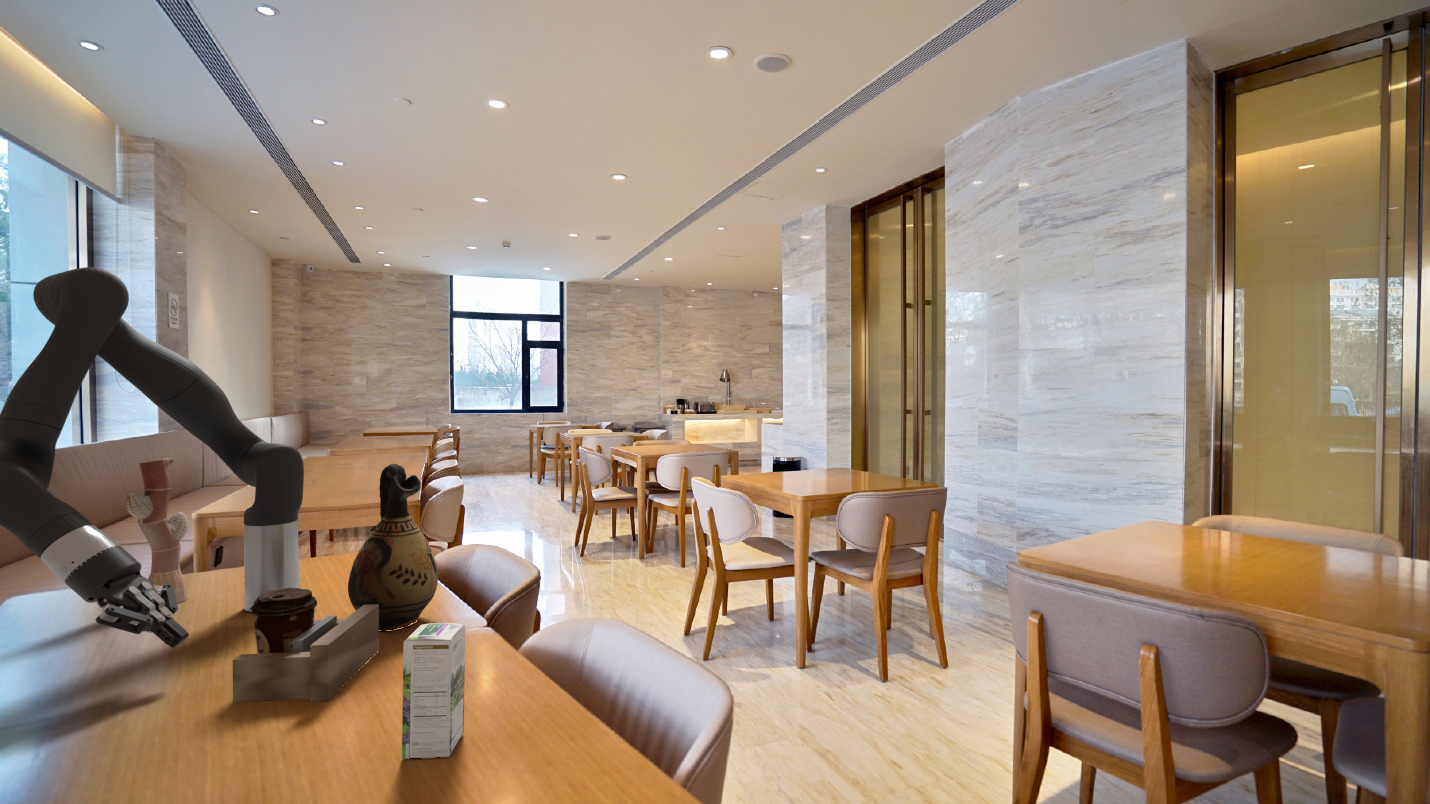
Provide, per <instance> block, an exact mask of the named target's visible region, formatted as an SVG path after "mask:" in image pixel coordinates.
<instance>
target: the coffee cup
mask: <svg viewBox="0 0 1430 804" xmlns="http://www.w3.org/2000/svg"><path fill="white" fill-rule="evenodd" d="M317 605H318V601H317V599H316V597H315V596H313V591H312V590H310V589H308V588H304V589H303V588H300V587H299V588H283V589H277V590H271V591H267V592H265V593H263V594H260V596H259V597H258V598H257V599H256V600H255V602H254V605H253V606H252V607H251V608H250V609H251V610H252V612H251V613H253V614H254V615H255V616H256V619H255V621H254V623H253V624H254V625H253V628H254V634H255V642H256V643H255V644H256V654H261V653H289V652H292V641H293V640H294V639H295V638H297V637H298V636H300V635H301V634H303V633H304V632H305V631H307V630H308V629H310V628H311V627H312V626H313V624H314V620H315V613H316V611H315V608H316V607H317Z"/></svg>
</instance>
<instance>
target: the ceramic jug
mask: <svg viewBox="0 0 1430 804" xmlns="http://www.w3.org/2000/svg"><path fill="white" fill-rule="evenodd" d="M380 473H381V474H380V476H379V477H380V478H379V487H378V489H379V498H380V499H379V502H380V503H379V505H380V506H379V507H380V508H379V514H380V521H379V522H378V523H377V525H375V528H374V529H373V530H372V532H370V533H369V535H368V536H367V539H366V540H365V541H364V543H362V546H361V547H360V549H359V550H358V553H357V554H356V556H355V558H354V560H353V562H352V566H351V569H350V572H349V576H348V583H347V593H348V598H349V601H350V603H351V606H352V607H353V609H354V610H355V611H356V610H358V609H359V608H360V607H362V606H363V605H376V604H379V630H394V629H397V628H401V627H405V628H407V627H406V626H408V625H410V624H411V623H414V622H416V620H417V619H418V620H419V617H420V616H421V614H422V612H423V611H424V610H425V609H426V607H427V606H428V605H429V604H430V603H431V601H432V600H433V598H434V596H435V593H436V591H437V587H438V582H439V571H438V564H437V561H436V558H435V554H434V552H433V549H432V547H431V545H430V543H429V541H428V540H427V538H426V537H425V535H424V533H423V531H422V530H421V528H420V527H419V526H418V525H417V523H416V522H415V521H414V519H413V518H412V515H411V514H410V513H409V511H408V509H409V508H408V503H407V502H408V498H409V497H412V496H415V494H417V493H418V492H420V490H421V481H420V479H419V477H418V476H417V475H416V474H412V475H410V476H409V477H407V473H406V470H405V468H404V466H403V465H399V464H398V463H390V464H389V465H387V466H386V467H385V466H384V468H383V469H382V471H381V472H380ZM408 627H409V626H408Z"/></svg>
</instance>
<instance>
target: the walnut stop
mask: <svg viewBox="0 0 1430 804" xmlns="http://www.w3.org/2000/svg"><path fill="white" fill-rule="evenodd" d="M321 620H322V619H314V624H313V626H314V625H315V624H317V623H318V622H320V621H321ZM378 650H379V651H380V631H379V604H376V605H363V606H362V607H360V608H359V609H358V610H355V611H354V612H353V613H351V614H349V615H348V616H347V617H345V618H343V619H340V618H337V626H335V627H334V628H333V629H331V630H330V631H329V632H327V633H326V634H325V635H323V636H322V637H321V638H319V639H318V640H317V641H315V642H314V643H313V644H312V645H310V652H289V653H261V654H258V653H241V654H240V655H238V656H236V657H234V658H233V659H232V703H239V702H240V703H241V702H262V701H263V702H264V701H267V702H269V701H289V700H292V701H293V700H308V699H309V700H310V701H309V702H310V703H314V702H315V703H317V702H329V701H330V700H331V699H332V698H333V697H334V696H335V695H337V694H338V692H339V691H340V690H341V689H342V688H344V686H345V685H346V684H347V683H348V682H349V681H350V680H351V679H352V678H353V677H354V676H355V675H356V674H357V673H358V670H359V669H361V667H362V666H363V665H365V663H366V662H367V661H368V660H370V658H372V657H373V656H374V654H376V653H377V651H378ZM377 654H378V653H377ZM377 654H376V655H377ZM374 657H375V656H374ZM374 657H373V658H374ZM373 658H372V659H373ZM370 661H371V660H370ZM365 666H366V665H365ZM361 670H362V669H361ZM355 673H356V674H355ZM354 674H355V675H354ZM351 677H352V678H351ZM350 678H351V679H350ZM347 681H348V682H347ZM346 682H347V683H346ZM343 685H344V686H343ZM340 688H341V689H340ZM339 689H340V690H339Z"/></svg>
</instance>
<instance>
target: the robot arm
mask: <svg viewBox="0 0 1430 804" xmlns="http://www.w3.org/2000/svg"><path fill="white" fill-rule="evenodd" d="M32 294H33V301H34V304H35V306H36V309H37V310H38V311H39V312H40V314H41V315H42V316H43V317H44V318H45V319H46V320H47V321H48V322H50V323H51V324H52V325H54V327H53V329H52V332H51V334H50V336H49V338H48V339H47V340H46V343H45V344H44V346H43V348H42V349H41V350H40V352H39V353H38V354H37V356H36V357H35V358H34V359H33V360H32V362H31V363H30V364H29V366H28V367H27V368H26V369H25V370H24V371H23V373H22V374H21V376H19V378H18V380H17V381H16V383H14V385H13V387H12V389H11V390H10V391H9V394H8V396H7V399H6V401H5V402H4V404H3V407H2V410H1V411H0V526H1V527H2V528H4V529H6V530H7V531H9V532H10V533H11V534H13V535H14V536H15V537H16V538H17V539H18V540H19V541H20V542H21V543H22V545H24V546H25V547H26V548H27V549H28V550H29V551H30V552H31V553H33V554H34V555H36V556H37V557H38V558H39V559H40V560H41V561H42V562H43V563H44V565H45V566H47V568H48V569H49V571H51V572H52V573H53V575H55V576H56V577H58V578H59V580H60V581H62V582H63V583H64V584H65V585H67V586H68V587H69V588H70V589H71V590H72V591H74V592H75V594H76V595H78V596H79V597H80V598H81V599H82V600H84V601H85V602H86V603H91V604H93V603H97V605H98V607H99V608H101V613H100V614H99V615H98V616H97V617H96V618H95V622H96V623H97V624H99V625H103V626H107V627H110V628H113V629H117V630H120V631H125V632H127V633H132V634H134V635H140V634H141V633H142V632H146V633H149V634H151V633H153V634H154V635H155V636H156V637H157V638H158V639H160V640H161V641H162V642H163V643H164V644H165V645H168V646H169V647H170V648H173V649H174V648H175V647H178V646H179V645H181V644H183V643H184V641H185V640H187V639H188V638H189V636H190V635H189V634H190V633H189V632H188V631H187V630H186V629H185V628H184V627H183V626H182V625H181V624H179V623H178V622H177V621H176V620H175V619H174V618H173V617H174V615H175V614H176V613H177V611H179V606H178V605H179V604H178V603H177V601H176V597H175V592H174V588H173V585H172V584H170V583H166V584H165V585H164V586H157V585H153V582H152V581H151V580H149V579H148V578H147V577H145V576H143V575H142V574H141V570H142V564H141V562H140V561H139V560H137V559H136V558H135V557H134V556H133V555H131V553H129V552H128V550H126V549H125V548H124V547H122V545H120V544H119V543H118V542H117V541H116V540H115V539H114V538H112V537H111V535H109V534H107V533H106V532H104V531H103V530H101V529H100V528H98V527H97V526H95V525H94V524H93V523H92V522H91V521H89V520H88V519H87V518H86V517H85V516H84V515H83V514H81V512H79V510H77V509H76V508H75V507H73V506H72V505H70V504H68V503H66V502H65V501H62V500H61V499H59V498H57V497H56V496H54V495H53V493H51V492H50V491H49V486H50V484H51V479H52V475H53V469H54V463H55V458H56V447H57V442H58V439H59V438H60V436H61V433H62V432H63V431H62V430H63V428H64V426H65V423H66V422H67V421H66V420H67V419H68V416H69V413H70V412H71V409H72V407H73V405H74V402H75V399H76V397H77V394H78V393H79V390H80V388H81V386H82V384H83V383H84V380H85V377H86V375H87V373H88V372H89V370H90V368H91V366H92V364H93V363H94V361H95V359H96V357H97V356H99V358H100V359H102V360H103V361H104V362H106V363H107V364H108V365H109V366H111V368H113V369H114V370H115V371H116V372H117V373H119V374H120V375H121V376H122V377H123V378H124V379H125V380H127V381H128V382H129V383H130V384H131V385H133V387H135V388H136V389H138V390H139V391H140V392H141V393H142V394H143V395H144V396H146V397H147V398H148V399H149V401H151V402H152V403H153V404H154V405H156V406H157V408H159V409H160V410H161V411H163V412H164V413H165V414H166V415H167V416H169V417H170V418H171V419H173V420H174V421H175V422H176V423H177V424H179V425H181V426H182V427H183V428H184V429H185V430H186V431H188V432H189V434H191V435H193V437H195V438H197V439H198V440H199V441H201V442H202V443H203V444H205V445H206V446H208V448H209V449H210V450H212V451H213V452H214V453H215V454H216V455H217V457H218V458H219V459H221V461H222V462H223V463H224V464H225V465H226V466H227V467H228V468H229V469H230V471H232V473H233V474H234V475H235V476H236V477H238V479H239V480H240V481H241V482H243V483H244V484H246V485H248V486H250V487H255V488H254V489H255V492H254V501H253V503H252V505H251V506H250V507H248V508H246V509H245V510H244V512H243V563H244V564H243V565H244V566H243V570H244V571H243V573H244V574H243V575H244V576H243V578H244V580H243V581H244V582H243V587H244V589H243V592H244V593H243V597H244V599H243V604H244V605H243V606H244V607H243V608H244V611H246V612H249V613H253V612H252V610H251V609H250V608H251V607H252V606H253V605H254V602H255V600H256V599H257V598H258V597H259V596H260V594H263V593H265V592H267V591H271V590H277V589H283V588H300V554H299V512H300V510H301V507H302V505H303V499H304V498H303V497H304V480H305V478H304V477H305V469H304V467H305V464H304V461H303V457H302V454H301V453H300V451H299V450H298V449H297V448H296V447H294V446H292V445H289V444H284V443H273V442H268V441H265V440H264V439H262V438H261V437H260V436H258V435H257V434H256V433H254V431H252V430H251V429H250V428H248V427H247V426H246V425H245V424H244V423H243V422H242V421H241V420H240V419H239V418H238V416H237V415H236V413H235V411H234V408H233V407H232V405H231V402H230V400H229V398H228V396H227V395H226V394H225V392H224V391H223V389H222V387H220V386H219V385H218V384H217V383H216V382H215V380H213V379H212V378H211V377H210V376H209V375H208V374H207V373H206V372H205V371H203V369H202V368H200V367H199V366H198V365H197V364H196V363H194V362H192V360H190V359H188V358H187V357H185V356H183V355H181V354H179V353H178V352H176V351H173V350H171V349H169V348H168V347H166V346H164V345H162V344H160V343H157V342H156V341H154V340H152V339H150V338H148V337H146V336H145V335H143V334H142V333H140V332H139V331H137V330H136V329H135V328H134V327H133V326H131V325H130V324H129V322H128V323H127V321H125V319H124V318H123V315H124V314H125V312H126V311H127V308H128V306H129V302H130V295H129V291H128V288H127V286H126V285H125V283H124V281H123V280H122V279H121V277H118V275H116V274H114V273H113V272H111V271H110V270H107V269H104V268H99V267H93V266H91V267H89V266H86V267H78V268H74V269H70V270H69V269H68V270H66V271H62V272H59V273H58V272H57V273H54V274H52V275H49V276H46V277H44V278H42V279H41V280H39V281H38V282H37V283H36V285H35V286H34V288H33V293H32Z"/></svg>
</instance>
